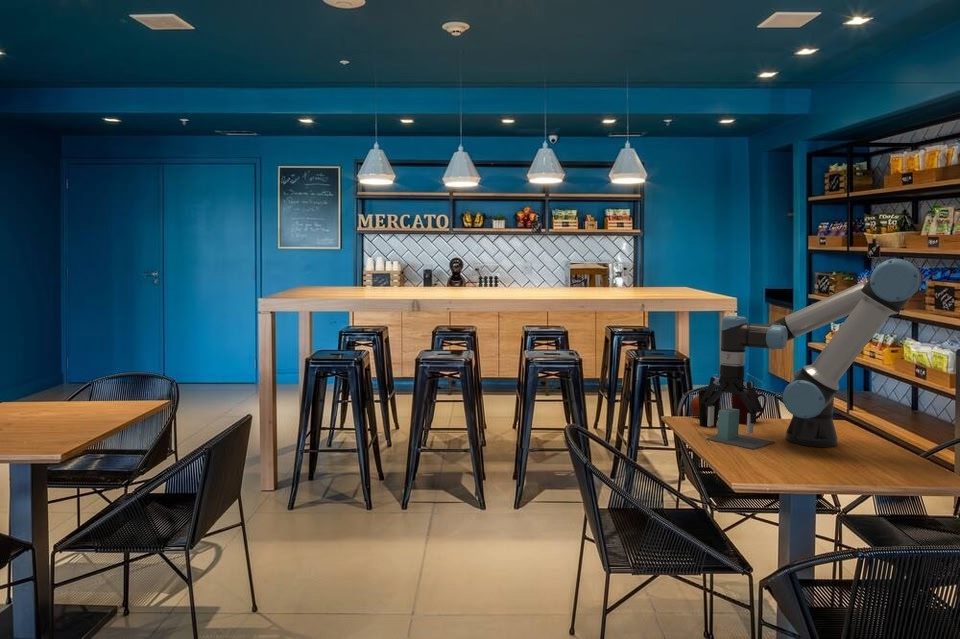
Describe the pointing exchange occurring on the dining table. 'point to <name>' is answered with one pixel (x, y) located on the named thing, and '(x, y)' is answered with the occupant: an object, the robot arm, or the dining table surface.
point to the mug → (739, 405)
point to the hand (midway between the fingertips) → (729, 429)
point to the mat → (743, 441)
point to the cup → (702, 409)
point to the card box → (728, 423)
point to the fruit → (697, 406)
